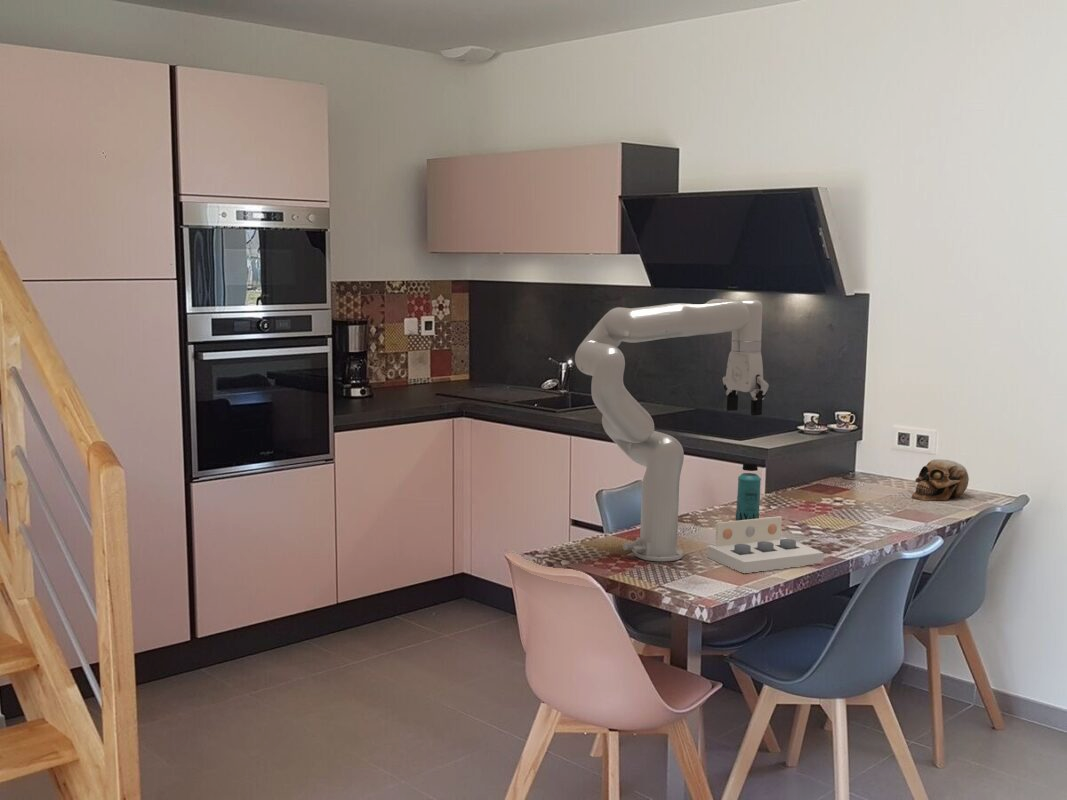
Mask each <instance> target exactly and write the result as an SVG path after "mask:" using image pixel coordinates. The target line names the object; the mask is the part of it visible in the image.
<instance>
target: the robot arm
mask: <svg viewBox="0 0 1067 800" xmlns="http://www.w3.org/2000/svg"><path fill="white" fill-rule="evenodd" d="M762 325H763V304H762V302H761V301H760V300H757V299H728V298H727V299H726V298H725V299H723V298H713V299H710V300H708V301H706V302H705V303H703V304H695V303H694V304H693V303H684V302H683V303H681V302H680V303H677V302H676V303H675V302H674V303H672V302H671V303H666V304H659V305H658V304H657V305H651V306H643V307H642V306H641V307H632V308H628V307H621V306H620V307H614V308H612V309H609V310H608V312H607V313H605V314H604V315H603V317H602V318H600V320H599V321H598V322H597V323H596V324H595V326H594V327H593V328H592V329H591V330H590V332H588V335H586V336H585V338H584V339H583V340H582V342H581V343H580V344H579V345H578V347H577V349H576V351H575V353H574V354H575V355H574V363H575V366H576V367H577V369H578V370H579V371H580V372H581V373H582V374H584V375H587V376H591V377H592V378H591V386H590V387H591V388H590V389H591V399H592V401H593V403H594V405H595V406H596V408H597V410H598V411H599V412H600V413H601V414H602V417H601V424H602V427H603V430H604V432H605V433H606V435H607V436H608V437H609V438H610V439H611V440H612V441H613V443H615V445H617V447H618V448H620V449H621V451H623V453H624V454H625V455H626V456H627V457H629V458H630V459H631V460H632V461H633V462H634V463H636V464H638V465H641V466H643V467H646V469H645V472H644V475H643V478H642V481H641V482H642V483H641V492H640V494H641V499H640V500H641V503H640V505H641V506H640V531H639V533H640V535H639V536H636V540H634V541H633V542H624V543H622V548H623V550H624V551H633V555H634V556H635V558H639V559H640V560H645V561H648V562H649V561H650V562H674V561H678V560H680V559H682V558H683V557H684V551H683V550H682V549H681V548H678V530H679V528H678V527H679V503H680V501H679V500H680V498H679V497H680V496H679V495H680V482H681V481H680V480H681V474H682V469H683V465H684V457H685V456H684V454H685V453H684V448H683V446H682V444H681V442H680V441H679V440H678V439H677V438H675V437H674V436H672V435H669V434H667V433H664V432H660V431H656V430H655V423H654V419H653V418H652V415H651V414H650V413H649V412H648V411H647V410H646V408H644V407H643V406H642V405H641V404H640V403H639V402H638V401H637V399H635V397H633V395H631V392H630V391H628V390H627V388H626V386H625V384H624V372H625V368H626V367H625V366H626V361H625V356H624V353H623V352H622V351H621V349H620V348H618V347H619V346H620V345H621V343H622V342H623V343H624V342H626V343H632V344H633V343H635V344H636V343H641V342H643V343H644V342H649V341H656V340H662V339H670V338H680V337H681V338H683V337H693V336H700V335H713V334H720V333H721V334H722V333H727V332H731V351H730V352H729V354H728V358H727V364H726V373H725V375H724V376H723V377H722V383H723V389H724V390H725V395H726V397H727V398H726V411H728V412H729V411H738V407H739V395H738V392H743V393H750V396H751V397H752V399H751V400H750V416H762V415H763V414H762V413H763V400H765V396H767V394H768V393H767V392H768V389H769V386H770V385H769V383H768V382H767V381H766V380H765V379H764V365H763V357H762V351H761V350H762V330H763V329H762Z"/></svg>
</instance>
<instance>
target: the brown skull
mask: <svg viewBox="0 0 1067 800" xmlns="http://www.w3.org/2000/svg"><path fill="white" fill-rule="evenodd" d="M969 478H970V477H969V473H968V470H967V469H966V467H965V466H963V465H962V464H961V463H959V462H956V461H954V460H949V459H932V460H930V461H929V462H928V463H927V464H926V465H924V466H922V468H921V469H920V471H919V473H918V477H916V478H915V480H914V481H915V482H916V483H917V484H916V488H915V491H914V493H912V495H911V498H912V499H913V500H918V501H925V502H926V501H928V502H933V501H935V502H936V501H937V502H938V501H942V502H947V501H948V500H949V499H958V498H959V497H960V496H962V495H963V494H964V493H965V491H966V490H967V488H968V486H969V481H970V479H969Z"/></svg>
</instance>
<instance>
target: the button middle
mask: <svg viewBox="0 0 1067 800" xmlns="http://www.w3.org/2000/svg"><path fill="white" fill-rule="evenodd" d="M773 547H774V544H773V543H771V542H765V541H762V542H758V544H757V550H759V551H761V552H771V551H773Z"/></svg>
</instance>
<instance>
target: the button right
mask: <svg viewBox="0 0 1067 800" xmlns="http://www.w3.org/2000/svg"><path fill="white" fill-rule="evenodd" d="M796 542H797V541H796V540H794V539H790V538H787V539H781V540H780V548H783V549H785V550H788V549H796Z"/></svg>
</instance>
